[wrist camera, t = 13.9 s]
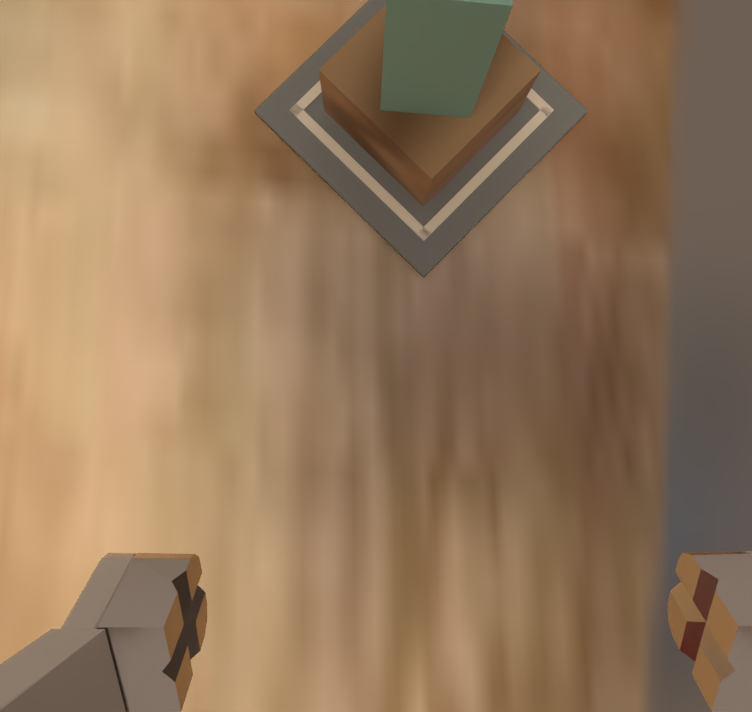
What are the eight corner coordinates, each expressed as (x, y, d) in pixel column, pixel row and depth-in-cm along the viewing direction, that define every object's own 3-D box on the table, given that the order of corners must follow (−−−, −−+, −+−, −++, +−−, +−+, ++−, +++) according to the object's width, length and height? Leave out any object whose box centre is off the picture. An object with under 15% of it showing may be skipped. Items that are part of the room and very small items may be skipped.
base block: (324, 110, 32) (318, 69, 28) (420, 17, 32) (428, -37, 28) (423, 206, 32) (431, 179, 28) (518, 110, 32) (541, 70, 28)
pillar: (380, 109, 28) (386, -6, 20) (387, 23, 28) (396, -126, 20) (470, 118, 28) (512, 5, 20) (476, 31, 28) (521, -114, 20)
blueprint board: (255, 113, 32) (253, 109, 32) (419, -45, 33) (420, -51, 32) (423, 277, 32) (424, 275, 31) (586, 113, 32) (588, 110, 32)
